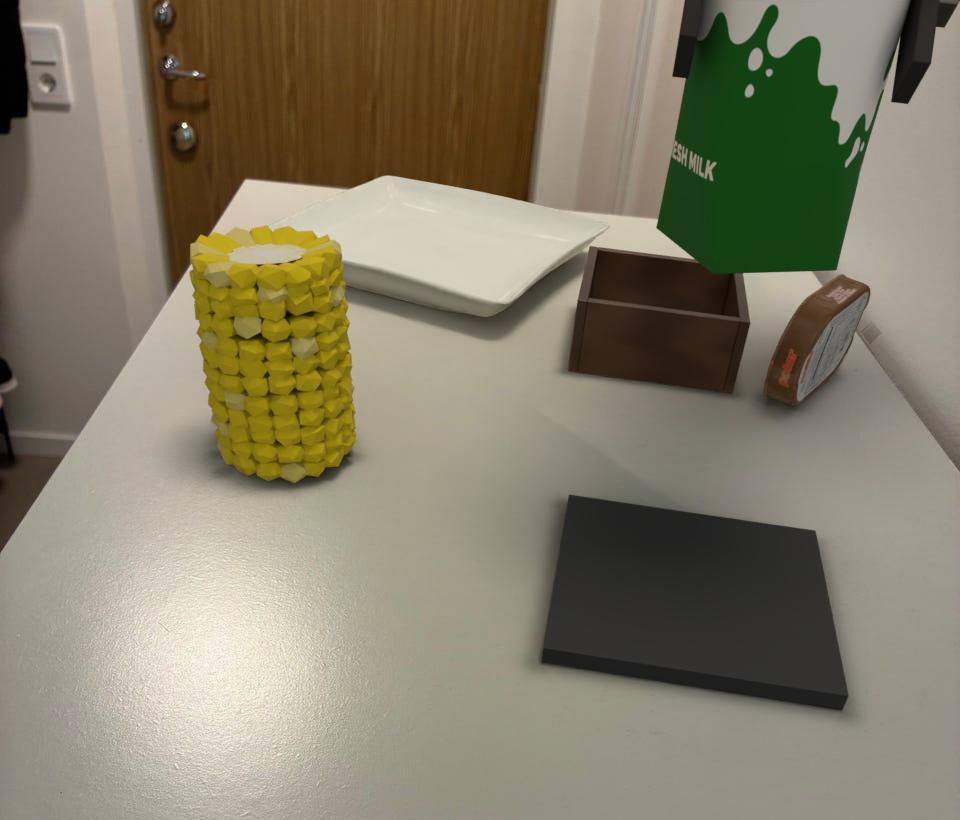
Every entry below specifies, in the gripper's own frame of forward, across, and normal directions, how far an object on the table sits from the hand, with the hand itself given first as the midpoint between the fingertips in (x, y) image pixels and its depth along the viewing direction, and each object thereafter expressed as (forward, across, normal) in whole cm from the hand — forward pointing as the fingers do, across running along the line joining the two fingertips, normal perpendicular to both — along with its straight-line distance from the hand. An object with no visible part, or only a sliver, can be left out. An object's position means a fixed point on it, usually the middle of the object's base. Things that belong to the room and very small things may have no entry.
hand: (796, 70), depth 44 cm
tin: (-1, -10, -40) cm, 41 cm away
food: (+15, +27, -24) cm, 39 cm away
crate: (-4, +2, -42) cm, 42 cm away
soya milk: (+4, 0, -9) cm, 10 cm away
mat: (+21, -1, -17) cm, 27 cm away
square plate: (-14, +25, -52) cm, 59 cm away
